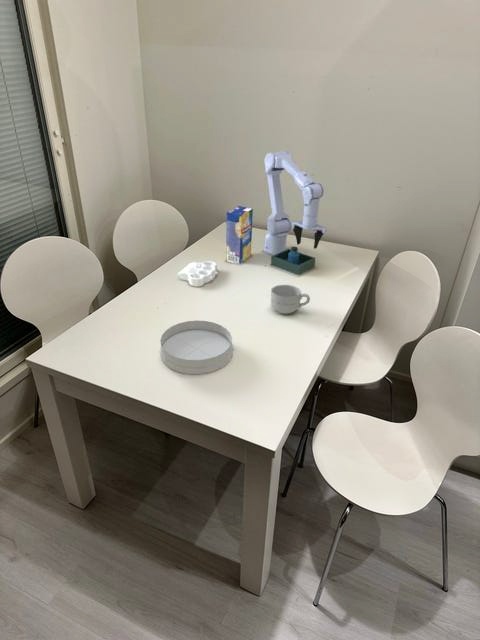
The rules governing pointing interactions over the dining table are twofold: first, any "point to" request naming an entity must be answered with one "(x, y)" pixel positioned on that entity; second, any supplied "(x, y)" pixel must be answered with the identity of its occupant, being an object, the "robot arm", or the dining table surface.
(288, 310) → the teacup
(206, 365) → the dish
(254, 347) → the dining table surface
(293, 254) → the bottle
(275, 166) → the robot arm
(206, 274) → the white scalloped tray
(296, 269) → the bin
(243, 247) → the beverage box
